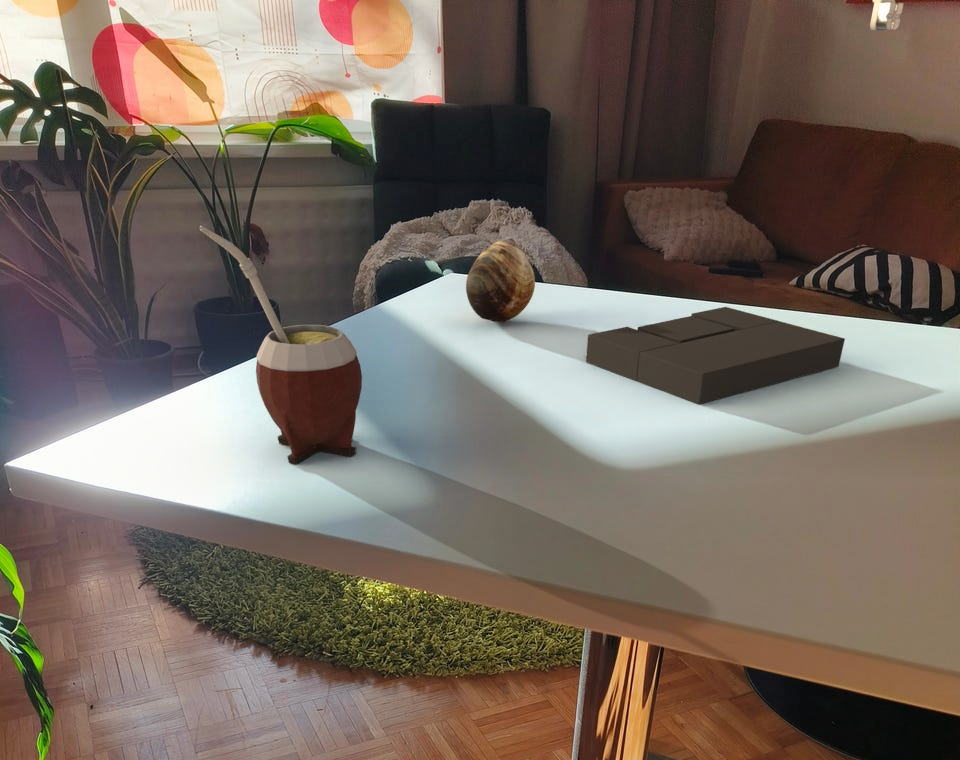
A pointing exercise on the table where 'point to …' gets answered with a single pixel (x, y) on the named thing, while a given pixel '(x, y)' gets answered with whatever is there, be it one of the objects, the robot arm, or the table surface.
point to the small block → (685, 329)
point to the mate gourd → (305, 378)
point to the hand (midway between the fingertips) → (938, 29)
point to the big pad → (717, 356)
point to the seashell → (500, 282)
